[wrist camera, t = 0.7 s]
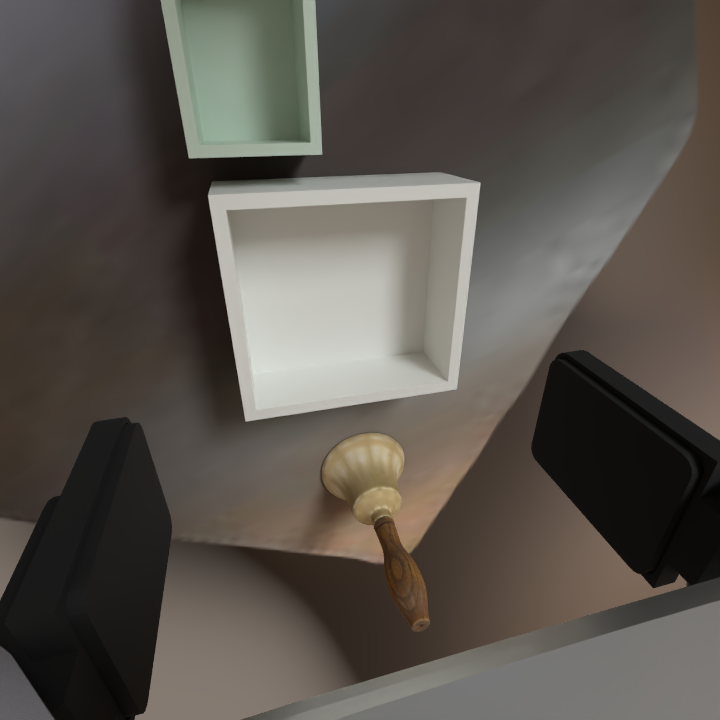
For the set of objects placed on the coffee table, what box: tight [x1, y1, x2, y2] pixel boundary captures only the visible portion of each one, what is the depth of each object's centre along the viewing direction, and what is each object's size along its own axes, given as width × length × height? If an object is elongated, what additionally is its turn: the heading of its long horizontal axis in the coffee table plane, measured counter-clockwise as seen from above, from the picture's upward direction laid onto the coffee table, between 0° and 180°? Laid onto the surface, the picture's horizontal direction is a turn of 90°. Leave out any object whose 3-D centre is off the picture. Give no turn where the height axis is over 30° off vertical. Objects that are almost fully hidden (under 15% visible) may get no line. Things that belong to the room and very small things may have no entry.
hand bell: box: [321, 433, 430, 632], centre depth 36 cm, size 8×8×16 cm
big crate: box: [208, 172, 480, 421], centre depth 31 cm, size 15×16×6 cm
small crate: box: [161, 0, 322, 158], centre depth 23 cm, size 10×7×5 cm
